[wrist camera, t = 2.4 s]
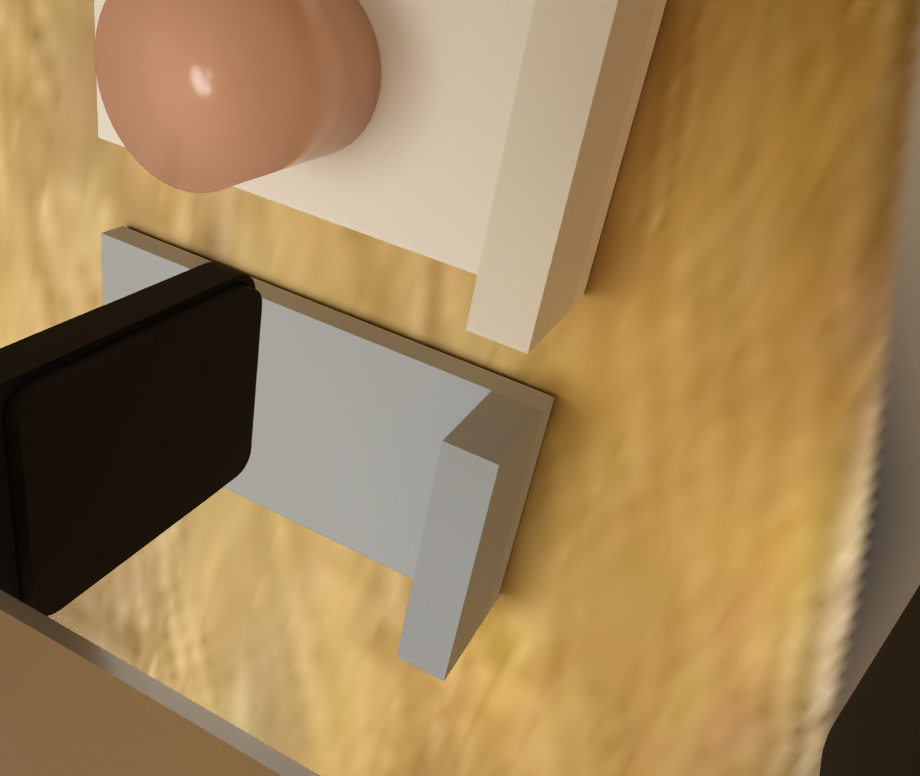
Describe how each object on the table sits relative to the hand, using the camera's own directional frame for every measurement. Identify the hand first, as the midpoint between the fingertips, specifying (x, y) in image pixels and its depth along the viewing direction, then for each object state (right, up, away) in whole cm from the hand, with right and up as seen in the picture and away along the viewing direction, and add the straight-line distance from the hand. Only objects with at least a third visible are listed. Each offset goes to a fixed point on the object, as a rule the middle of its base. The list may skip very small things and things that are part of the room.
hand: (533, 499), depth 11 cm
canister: (-6, +12, +18) cm, 23 cm away
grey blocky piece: (-7, +1, +26) cm, 27 cm away
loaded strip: (-5, +12, +19) cm, 23 cm away
